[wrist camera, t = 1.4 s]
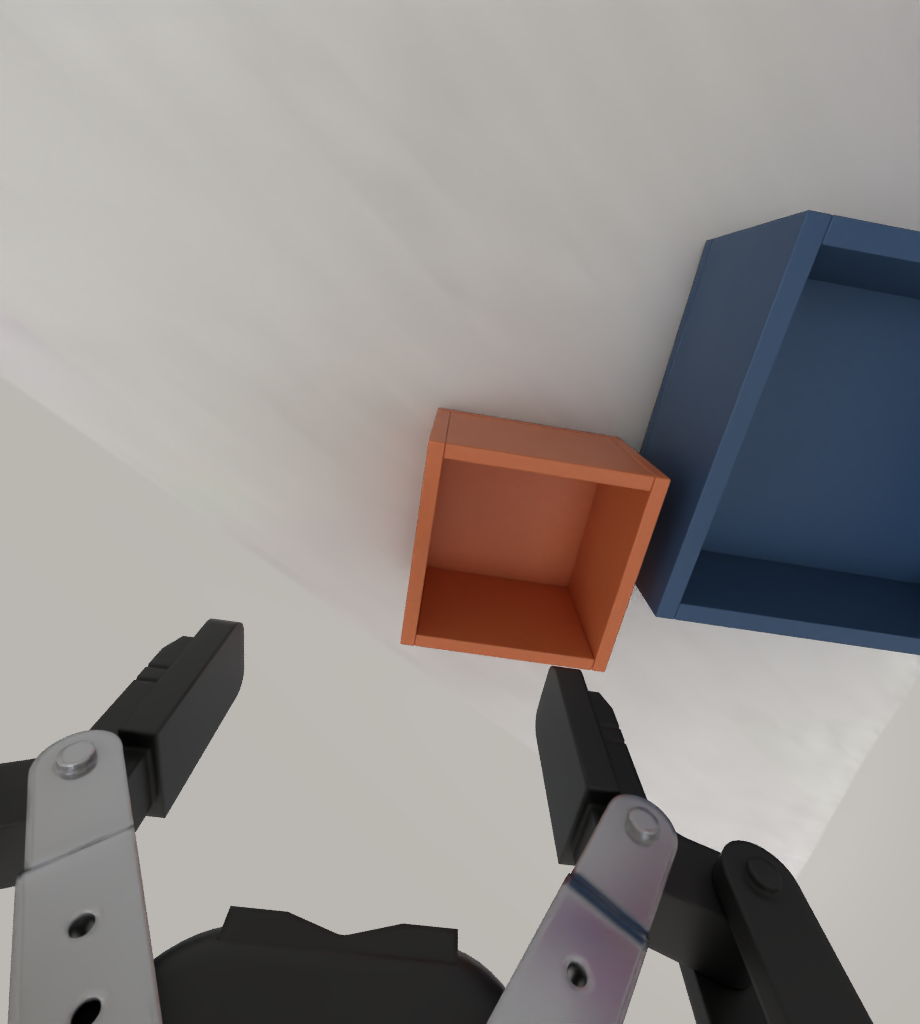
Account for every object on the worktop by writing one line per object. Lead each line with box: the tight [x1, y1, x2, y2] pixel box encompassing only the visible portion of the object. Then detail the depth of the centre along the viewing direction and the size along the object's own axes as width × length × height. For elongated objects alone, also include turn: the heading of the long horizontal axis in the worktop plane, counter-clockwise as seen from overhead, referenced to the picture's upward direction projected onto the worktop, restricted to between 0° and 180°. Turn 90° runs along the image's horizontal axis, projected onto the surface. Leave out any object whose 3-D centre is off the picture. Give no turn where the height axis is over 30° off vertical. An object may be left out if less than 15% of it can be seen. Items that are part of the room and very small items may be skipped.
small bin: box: [400, 408, 671, 672], centre depth 22 cm, size 9×9×6 cm
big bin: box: [635, 210, 920, 655], centre depth 21 cm, size 18×15×7 cm
